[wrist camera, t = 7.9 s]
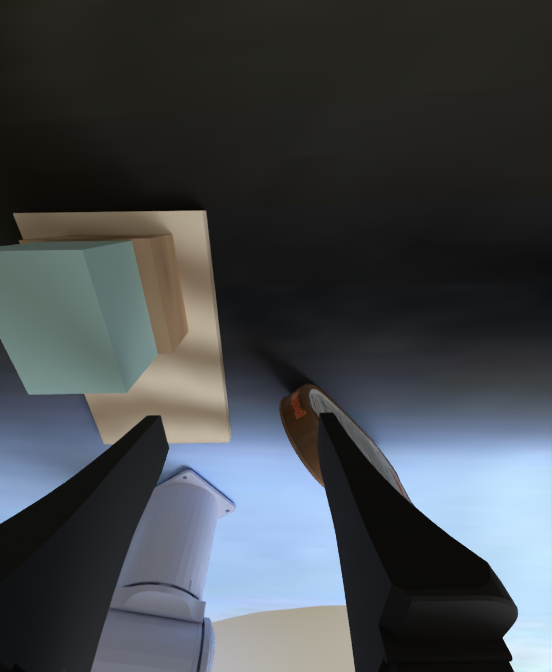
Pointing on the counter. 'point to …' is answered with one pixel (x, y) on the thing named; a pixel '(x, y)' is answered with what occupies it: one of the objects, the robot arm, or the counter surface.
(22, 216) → the birch board
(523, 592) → the counter surface
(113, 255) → the teal brick
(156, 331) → the walnut block
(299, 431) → the tin
